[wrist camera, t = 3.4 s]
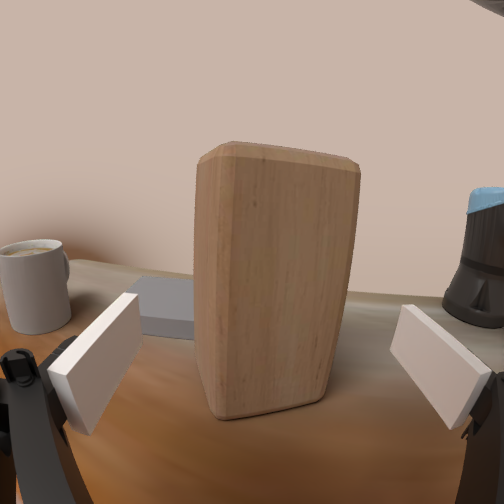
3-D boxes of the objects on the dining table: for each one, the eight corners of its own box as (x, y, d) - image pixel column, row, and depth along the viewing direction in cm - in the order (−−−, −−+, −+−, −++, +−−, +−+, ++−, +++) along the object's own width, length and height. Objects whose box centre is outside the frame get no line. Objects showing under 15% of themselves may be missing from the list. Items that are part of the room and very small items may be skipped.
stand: (226, 296, 45) (226, 282, 45) (218, 341, 31) (218, 322, 31) (143, 290, 45) (142, 275, 44) (108, 328, 31) (105, 310, 30)
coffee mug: (35, 343, 24) (18, 260, 22) (0, 321, 26) (-14, 251, 24) (99, 304, 37) (92, 238, 35) (58, 292, 39) (52, 233, 37)
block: (194, 358, 28) (196, 154, 23) (282, 348, 31) (300, 163, 26) (213, 426, 19) (218, 137, 14) (326, 403, 22) (367, 159, 17)
